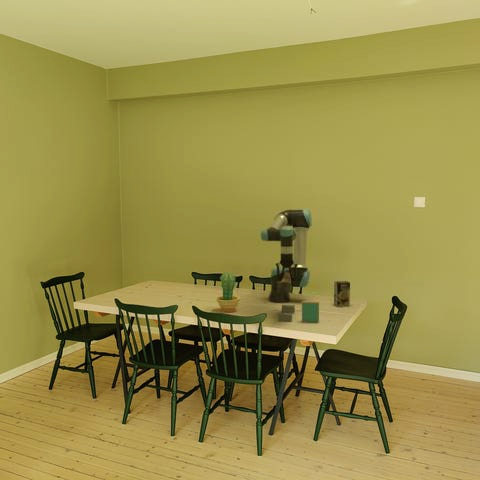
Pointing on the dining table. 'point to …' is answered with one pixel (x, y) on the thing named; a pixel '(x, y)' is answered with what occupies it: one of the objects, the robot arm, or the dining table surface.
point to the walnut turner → (284, 284)
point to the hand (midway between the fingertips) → (286, 290)
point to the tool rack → (286, 313)
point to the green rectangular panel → (310, 311)
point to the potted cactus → (228, 293)
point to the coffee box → (341, 293)
